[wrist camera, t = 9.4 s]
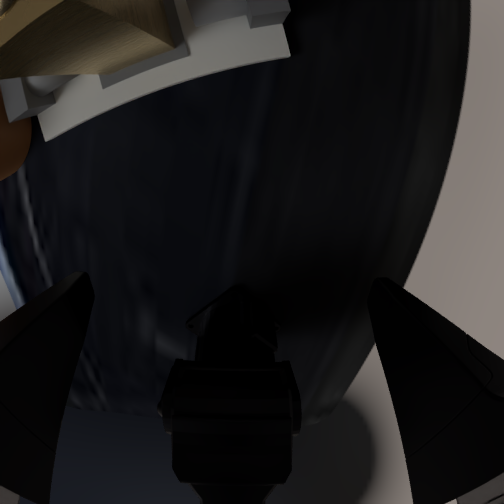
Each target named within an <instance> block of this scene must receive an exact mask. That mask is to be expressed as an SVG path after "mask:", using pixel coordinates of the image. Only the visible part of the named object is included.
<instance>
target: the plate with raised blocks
mask: <svg viewBox="0 0 504 504" xmlns="http://www.w3.org/2000/svg"><path fill="white" fill-rule="evenodd" d="M163 4H164V8H165V12H166V16H167V19H168V23H169V27H170V31H171V35H172V38H173V42H174V46H175V49H174V50H171V51H168V52H165V53H162V54H159V55H156V56H154V57H151V58H148V59H146V60H143V61H141V62H138V63H136V64H133V65H131V66H128V67H126V68H124V69H121V70H119V71H117V72H115V73H112V74H110V75H95V74H70V75H45V76H31V77H20V78H11V79H3V80H0V87H1V92H2V96H3V101H4V105H5V109H6V113H7V117H8V120H9V123H11V122H14V121H18V120H21V119H25V118H28V117H32V116H35V115H37V116H38V119H39V123H40V126H41V129H42V132H43V135H44V139H45V142H46V141H49V140H51V139H53V138H55V137H57V136H59V135H61V134H62V133H64V132H66V131H68V130H70V129H72V128H74V127H76V126H77V125H79V124H81V123H83V122H85V121H87V120H90V119H92V118H94V117H96V116H98V115H100V114H102V113H104V112H107V111H109V110H111V109H113V108H116V107H118V106H120V105H123V104H125V103H127V102H130V101H132V100H135V99H137V98H140V97H142V96H145V95H148V94H150V93H153V92H156V91H158V90H161V89H164V88H167V87H170V86H173V85H176V84H179V83H182V82H185V81H188V80H192V79H195V78H198V77H202V76H205V75H209V74H213V73H216V72H220V71H224V70H228V69H232V68H237V67H241V66H246V65H250V64H255V63H260V62H265V61H271V60H276V59H282V58H288V57H290V56H291V55H290V51H289V47H288V43H287V39H286V36H285V32H284V28H283V25H282V23H283V22H284V20H285V19H286V17H287V15H288V14H289V12H290V11H291V9H290V6H289V3H288V0H163Z"/></svg>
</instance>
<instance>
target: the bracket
mask: <svg viewBox="0 0 504 504" xmlns="http://www.w3.org/2000/svg"><path fill="white" fill-rule="evenodd" d="M31 132H32V125H31V117H28V118H25V119H21V120H18V121H14V122H11V123H9V120H8V117H7V113H6V109H5V105H4V101H3V96H2V92H1V87H0V181H1V180H3V179H4V178H6V177H8V176H10V175H11V174H13V173H14V172H16V171H17V170H18V169H19V168H20V167H21V165H22V164H23V162H24V160H25V158H26V156H27V153H28V150H29V147H30V142H31Z"/></svg>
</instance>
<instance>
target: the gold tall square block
mask: <svg viewBox="0 0 504 504" xmlns="http://www.w3.org/2000/svg"><path fill="white" fill-rule="evenodd" d="M174 49H175V46H174V42H173V38H172V35H171V31H170V27H169V23H168V19H167V16H166V12H165V8H164V4H163V0H0V80H3V79H11V78H20V77H31V76H45V75H70V74H95V75H110V74H112V73H115V72H117V71H119V70H121V69H124V68H126V67H128V66H131V65H133V64H136V63H138V62H141V61H143V60H146V59H148V58H151V57H154V56H156V55H159V54H162V53H165V52H168V51H171V50H174Z"/></svg>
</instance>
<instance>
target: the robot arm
mask: <svg viewBox="0 0 504 504" xmlns="http://www.w3.org/2000/svg"><path fill="white" fill-rule="evenodd" d="M232 293H236V294H232ZM94 297H95V295H94V290H93V287H92V284H91V281H90V278H89V275H88V273H86V272H79V271H76V272H74V273H72V274H71V275H69V276H67V277H66V278H64V279H63V280H61V281H60V282H58V283H56V284H55V285H53V286H52V287H50V288H49V289H47V290H46V291H44V292H43V293H41V294H40V295H38V296H37V297H35V298H34V299H32V300H31V301H29V302H28V303H26V304H25V305H23V306H22V307H20V308H19V309H17V310H16V311H15V312H13V313H12V314H10V315H9V316H8V317H6V318H5V319H3V320H2V321H0V504H19V501H20V496H21V497H23V498H26V499H28V500H30V501H32V502H34V503H37V504H49V500H50V490H51V482H52V474H53V468H54V461H55V455H56V449H57V443H58V438H59V433H60V428H61V423H62V419H63V415H64V410H65V406H66V402H67V398H68V394H69V390H70V387H71V383H72V379H73V376H74V372H75V369H76V366H77V362H78V359H79V356H80V353H81V349H82V346H83V343H84V340H85V336H86V332H87V327H88V323H89V319H90V315H91V311H92V307H93V303H94ZM367 303H368V309H369V313H370V318H371V323H372V328H373V333H374V338H375V342H376V346H377V350H378V353H379V356H380V360H381V363H382V367H383V370H384V373H385V377H386V380H387V384H388V388H389V391H390V395H391V398H392V402H393V406H394V410H395V414H396V418H397V422H398V426H399V431H400V435H401V440H402V444H403V449H404V454H405V458H406V465H407V470H408V474H409V481H410V486H411V492H412V498H413V504H445V503H447V502H449V501H451V500H454V499H456V500H457V504H504V360H503V359H502V358H500V357H499V356H497V355H496V354H494V353H493V352H492V351H490V350H489V349H487V348H486V347H484V346H483V345H482V344H480V343H479V342H477V341H476V340H475V339H473V338H472V337H471V336H469V335H468V334H466V333H465V332H464V331H462V330H461V329H460V328H459V327H457V326H456V325H455V324H453V323H452V322H450V321H449V320H448V319H446V318H445V317H443V316H442V315H441V314H439V313H438V312H436V311H435V310H434V309H432V308H431V307H429V306H428V305H427V304H425V303H424V302H422V301H421V300H419V299H418V298H417V297H415V296H414V295H412V294H411V293H409V292H408V291H406V290H405V289H404V288H402V287H401V286H399V285H398V284H396V283H395V282H393V281H392V280H390V279H389V278H386V277H384V278H376V279H375V280H374V282H373V284H372V287H371V290H370V293H369V296H368V301H367ZM190 324H192V325H190ZM186 328H187V329H189V330H190V331H191V332H193V333H194V334H196V335H197V336H198V338H197V346H196V353H195V361H188V360H183V359H176V360H175V363H174V366H172V368H171V371H170V374H169V377H168V380H167V382H166V385H165V388H164V391H163V394H162V397H161V400H160V402H159V403H158V406H157V410H158V412H159V414H160V415H161V416H162V418H163V423H164V429H165V431H166V433H167V434H171V437H172V438H171V439H172V459H173V460H172V468H173V470H174V472H175V474H176V476H177V478H178V480H179V481H180V482H181V483H188V484H189V486H190V487H191V488H192V490H193V491H194V492H195V494H196V495H197V496H198V498H199V499H200V504H265V500H266V499H267V497H268V496H269V495H270V493H271V492H272V491H273V489H274V488H275V487H276V485H281V484H284V483H285V482H286V480H287V478H288V476H289V474H290V472H291V470H292V465H291V463H292V437H293V436H298V434H299V432H300V428H301V415H302V413H301V400H300V394H299V390H298V387H297V384H296V381H295V377H294V374H293V371H292V368H291V365H290V361H282V362H275V357H274V352H276V351H277V348H278V347H277V339H276V333H277V332H279V331H280V330H281V324H280V323H279V322H278V321H277V320H276V319H274V316H273V315H272V314H271V313H269V312H268V311H267V310H266V309H265V308H263V307H262V306H261V305H260V304H259V303H257V302H256V301H252V300H251V299H250V298H249V297H248V296H246V295H245V294H244V293H243V292H242V291H240V290H239V289H238V288H235V287H233V288H230V289H229V290H227V291H226V292H225V293H223V294H222V295H221V296H219V297H218V298H217V299H215V300H214V301H213V302H211V303H210V304H209V305H207V306H206V307H205V308H203V309H202V310H201V311H199V312H198V313H197V314H195V315H194V316H192V317H191V318H190V319H188V320H187V321H186Z"/></svg>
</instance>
